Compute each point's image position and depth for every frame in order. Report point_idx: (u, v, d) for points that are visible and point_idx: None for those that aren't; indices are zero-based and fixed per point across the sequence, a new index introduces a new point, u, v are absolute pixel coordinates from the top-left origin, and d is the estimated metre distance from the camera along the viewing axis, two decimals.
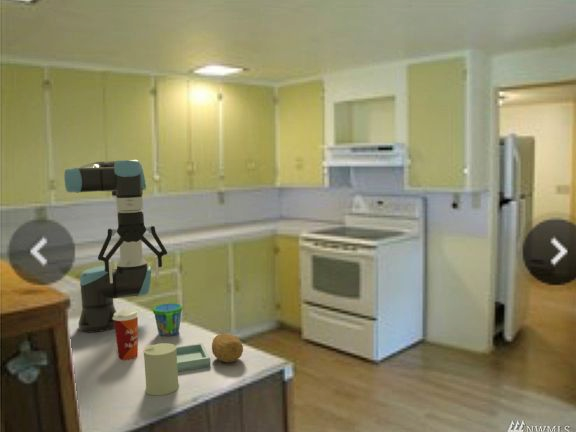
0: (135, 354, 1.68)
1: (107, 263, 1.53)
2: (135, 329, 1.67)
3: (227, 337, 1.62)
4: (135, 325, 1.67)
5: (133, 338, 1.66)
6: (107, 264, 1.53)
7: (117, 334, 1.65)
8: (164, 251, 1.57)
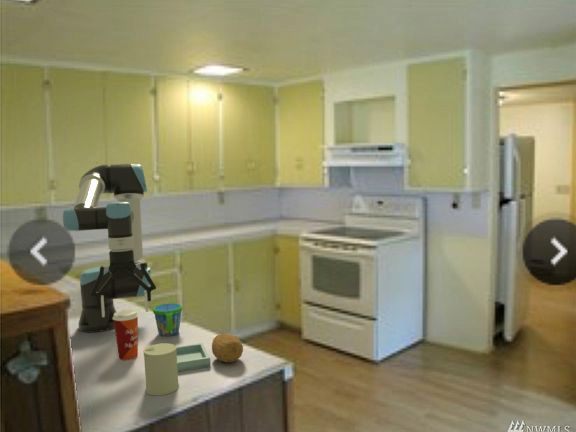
0: (135, 354, 1.68)
1: (99, 298, 1.63)
2: (135, 329, 1.67)
3: (227, 337, 1.62)
4: (135, 325, 1.67)
5: (133, 338, 1.66)
6: (99, 299, 1.63)
7: (117, 334, 1.65)
8: (153, 286, 1.68)
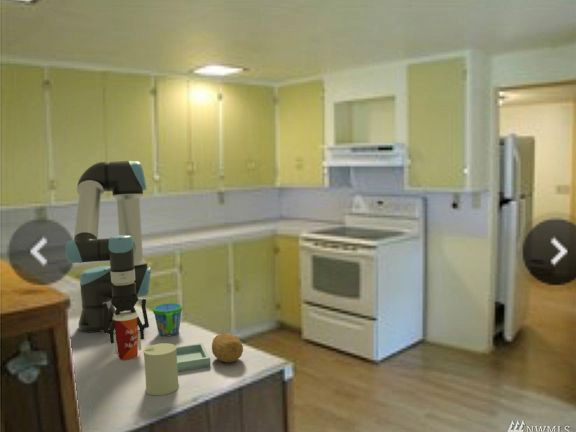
0: (135, 354, 1.68)
1: (112, 335, 1.66)
2: (135, 329, 1.67)
3: (227, 337, 1.62)
4: (135, 325, 1.66)
5: (133, 338, 1.66)
6: (112, 336, 1.66)
7: (117, 334, 1.65)
8: (146, 324, 1.69)
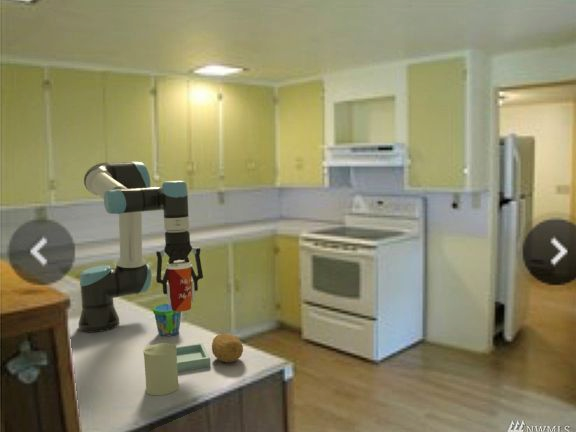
0: (189, 306, 1.60)
1: (165, 286, 1.58)
2: (189, 279, 1.59)
3: (227, 337, 1.62)
4: (189, 275, 1.59)
5: (187, 288, 1.58)
6: (165, 287, 1.58)
7: (171, 284, 1.57)
8: (200, 275, 1.61)
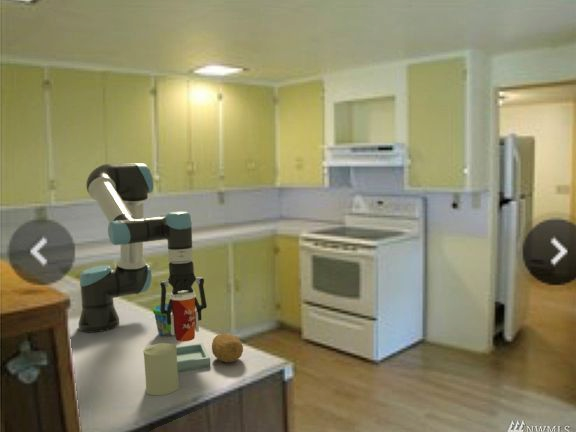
0: (193, 336, 1.61)
1: (169, 316, 1.59)
2: (193, 309, 1.60)
3: (227, 337, 1.62)
4: (193, 305, 1.60)
5: (191, 318, 1.59)
6: (169, 317, 1.59)
7: (175, 314, 1.58)
8: (204, 305, 1.62)
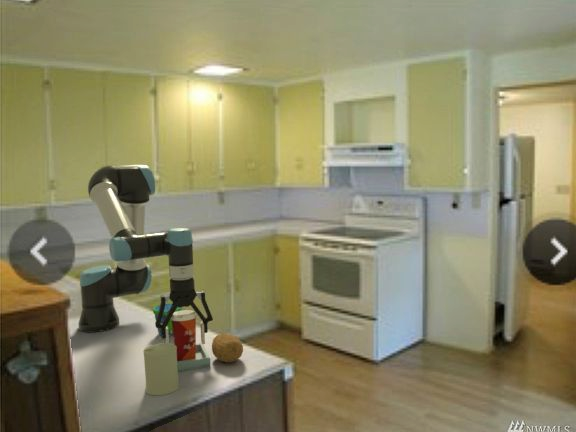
0: (194, 356, 1.62)
1: (164, 330, 1.59)
2: (194, 330, 1.61)
3: (227, 337, 1.62)
4: (194, 326, 1.61)
5: (192, 339, 1.60)
6: (164, 331, 1.59)
7: (176, 335, 1.60)
8: (210, 317, 1.63)
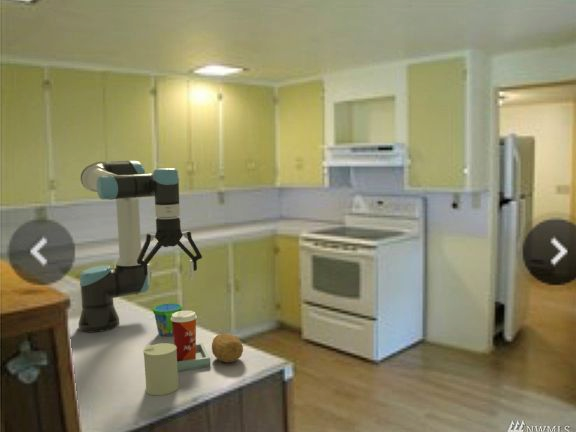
0: (194, 357, 1.62)
1: (146, 267, 1.60)
2: (194, 331, 1.61)
3: (227, 337, 1.62)
4: (194, 327, 1.61)
5: (192, 340, 1.60)
6: (146, 268, 1.60)
7: (176, 336, 1.59)
8: (199, 255, 1.65)
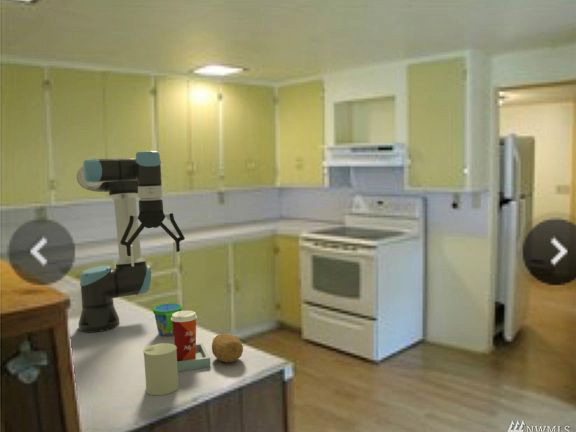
0: (194, 357, 1.62)
1: (129, 247, 1.63)
2: (194, 331, 1.61)
3: (227, 337, 1.62)
4: (194, 327, 1.61)
5: (192, 340, 1.60)
6: (129, 248, 1.63)
7: (176, 336, 1.59)
8: (182, 237, 1.68)
